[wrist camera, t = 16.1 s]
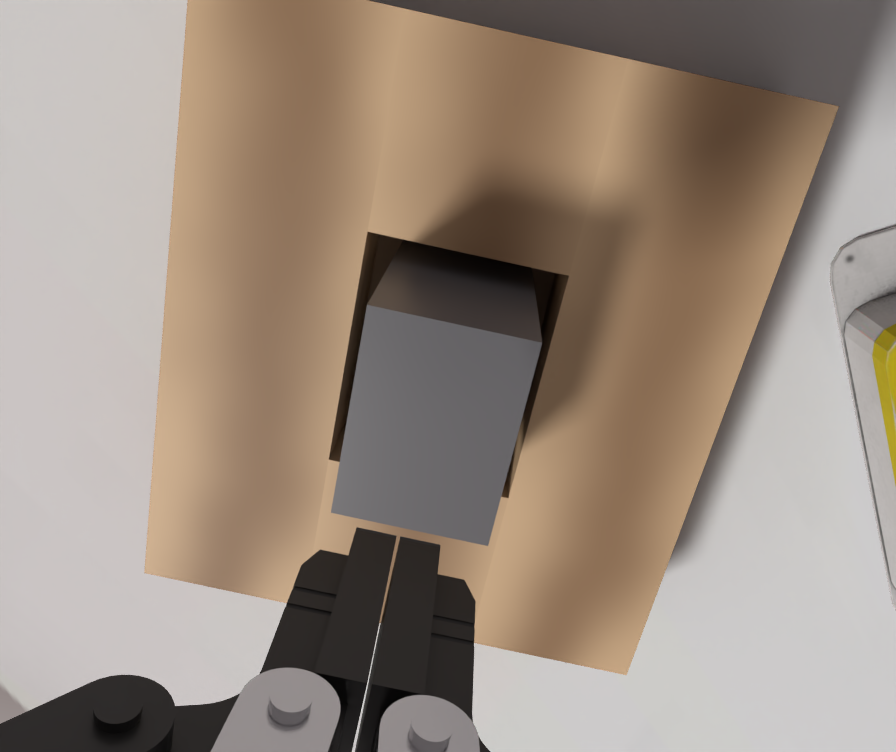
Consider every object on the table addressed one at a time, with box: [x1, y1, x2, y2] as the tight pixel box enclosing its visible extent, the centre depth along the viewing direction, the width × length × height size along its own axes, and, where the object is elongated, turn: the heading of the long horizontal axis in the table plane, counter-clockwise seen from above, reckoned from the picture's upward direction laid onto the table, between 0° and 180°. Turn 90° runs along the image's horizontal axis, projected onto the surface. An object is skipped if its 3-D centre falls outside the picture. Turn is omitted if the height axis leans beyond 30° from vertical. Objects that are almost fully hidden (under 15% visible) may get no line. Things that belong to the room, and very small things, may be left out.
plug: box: [331, 239, 542, 546], centre depth 22 cm, size 4×6×7 cm
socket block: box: [144, 0, 839, 675], centre depth 24 cm, size 16×18×4 cm
